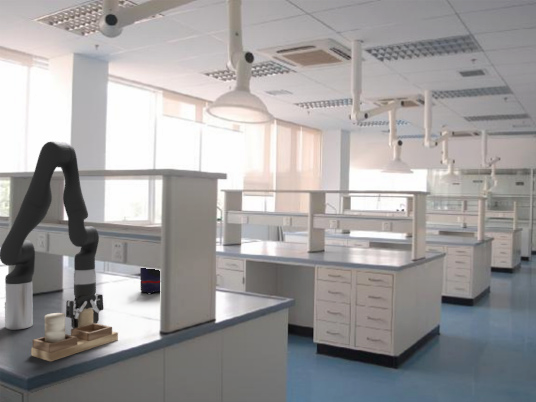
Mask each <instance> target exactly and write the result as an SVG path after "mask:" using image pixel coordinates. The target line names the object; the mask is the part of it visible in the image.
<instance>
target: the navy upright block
mask: <svg viewBox="0 0 536 402" xmlns="http://www.w3.org/2000/svg"><path fill="white" fill-rule="evenodd" d="M139 269H140V270H139V271H140V277H139V278H140V292H141V293H152V294H153V293H157V292H158V293H159V292H161V291H160V271H159V270H155V269H146V268H139Z"/></svg>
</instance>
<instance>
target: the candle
mask: <svg viewBox="0 0 536 402" xmlns="http://www.w3.org/2000/svg"><path fill="white" fill-rule="evenodd" d="M77 318H78V327H81V326H85V325H89V324H92V323H93V310H92V309H91V308H88V309H84V310H82V312H81V313H80V314H79V316H78V317H77Z"/></svg>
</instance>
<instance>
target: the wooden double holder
mask: <svg viewBox="0 0 536 402" xmlns="http://www.w3.org/2000/svg"><path fill="white" fill-rule="evenodd" d="M118 340H119V332H116V331H113V327H112V326H110V325H106V324H101V323H92V324H89V325H85V326H81V327H78V328H74V329H73V328H71V329H70V334H66V313H64V312H53V313H48V314H45V315H44V336H42V337H39V338H35V339H32V340H31V341H32V342H31V343H32V347H31V356H32V357H35V358H37V359H41V360H44V361H48V362H53V361H57V360H59V359H63V358H66V357H69V356H72V355H75V354H77V353H81V352H85V351H87V350H90V349H93V348H96V347H100V346H102V345H105V344H108V343H113V342H115V341H118Z"/></svg>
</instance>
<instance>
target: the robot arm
mask: <svg viewBox="0 0 536 402" xmlns="http://www.w3.org/2000/svg"><path fill="white" fill-rule="evenodd" d="M36 161H37V162H36V164H35V165H36V166H35V167H34V168H35V169H34V171H33V174H32V175H33V176H32V177H31V180H30V183H29V185H28V189H27V191H26V193H25V195H24V197H23V198H22V199H23V200H22V203H21V204H20V207H19V209H18V212H17V215H16V217H15V219H14V221H13V224H12V226H11V228H10V229H9V232H8V234H7V236H6V237H5V239H4V241H3V243H2V244H1V246H0V261H1V263H2V265H5V266H8V267H9V266H10V267H11V266H14V267H13V270H11V271H10V272H9V273H8V274H7V275H5V279H4V280H5V282H4V283H5V287H4V289H5V302H4V316H5V317H4V327H5V329H7V330H14V331H15V330H16V331H17V330H24V329H27V328H31V327H32V326H33V324H34V323H33V322H34V321H33V320H34V317H33V316H34V315H33V314H34V311H33V309H34V308H33V276H34V274H35V264H36V263H35V261H36V250H35V249H36V248H35V246H34V244H33V242H32V241H31V240H29V239H26V238H27V237H28V236H29V235H30V233H31V232H32V231H33V230H34V229H35V228H36V227H37V226H38V225H40V224H41V222H43V220H44V219H45V218H46V215H47V214H48V212H49V209H50V206H51V204H52V200H53V196H52V189H51V180H52V178H53V174H54V173H55V170H56V169H57V168H60V169H61V172H62V174H63V177H64V188H63V193H62V200H63V201H62V202H63V206H64V209H65V213H66V217H67V220H68V221H67V226H68V227H67V228H68V232H67V233H68V239H69V240H70V243H71V244H72V245H74V246H75V247H77V248H80V250H79V252H78V253H76V254H75V255H74V260H73V261H74V264H73V265H74V269H73V270H74V271H73V295H74V299H73V300H66V301H65V302H66V306H65V308H66V309H65V318H70V320H71V325H70V326H71V327H72V329H74V328H78V318H77V317H78V316H79V314H80V313H81V312H82V310H84V309H88V308H91V309H92V310H93V323H97V324H99V319H100V318H99V317H100V316H99V315H100V312H101V311H103V310H104V298H103V297H104V295H103V294H100V293H97V274H96V254H97V250H98V246H99V239H100V236H99V235H100V234H99V231H98V230H97V229H96V227H94V226H92V225H87V226H85V220H86V219H88V216H89V214H88V213H89V212H88V209H87V206H86V201H85V199H84V196H83V192H82V191H83V190H82V187H81V182H80V181H81V180H80V173H79V172H80V171H79V165H78V158H77V154H76V150H75V148H74V147H73V145H71V144H70V143H67V142H63V141H62V142H60V141H47V142H46V143H45V144H43V145H42V147H41V149H40V152H39V154H38V157H37V160H36Z"/></svg>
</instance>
